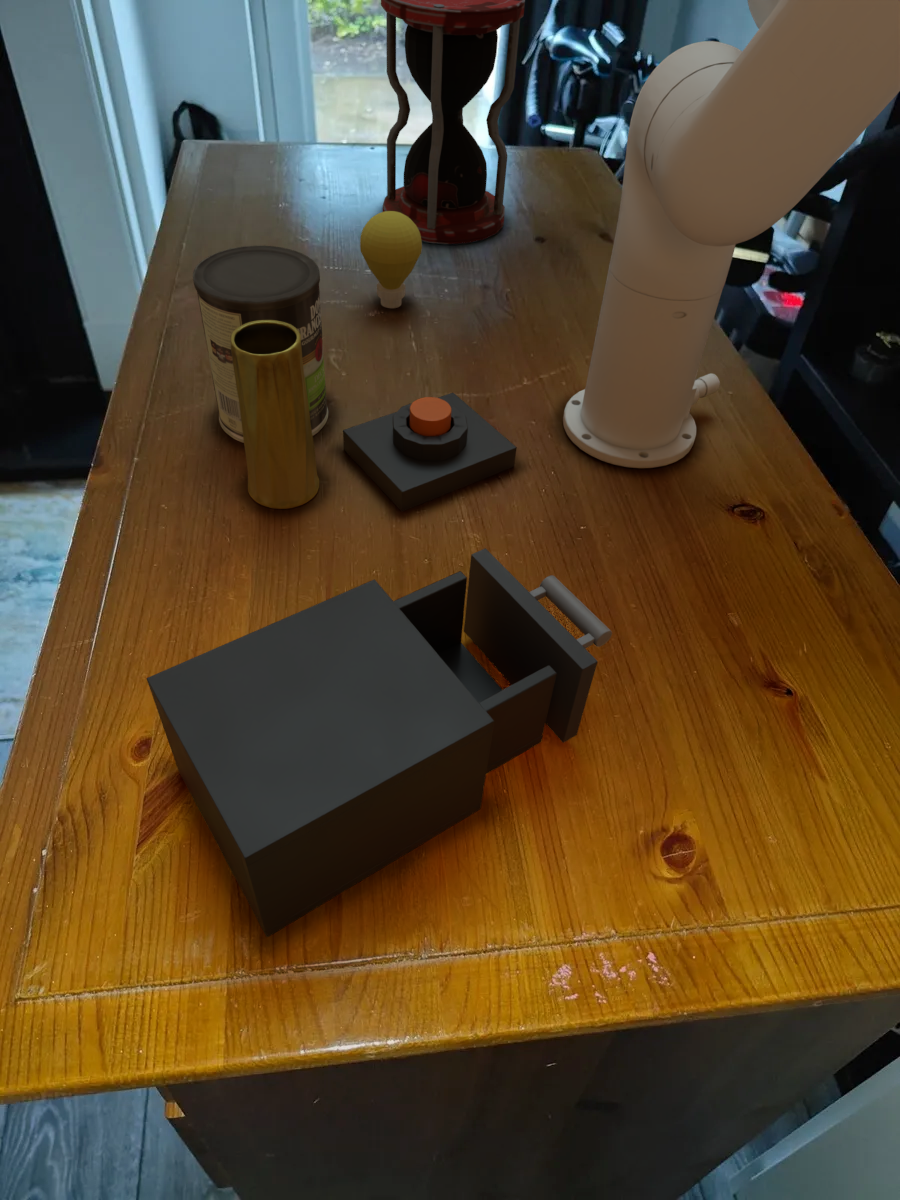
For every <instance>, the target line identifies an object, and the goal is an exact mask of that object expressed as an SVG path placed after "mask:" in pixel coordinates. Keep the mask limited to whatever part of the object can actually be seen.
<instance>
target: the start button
mask: <svg viewBox="0 0 900 1200" xmlns="http://www.w3.org/2000/svg"><path fill="white" fill-rule="evenodd" d="M411 403H412V404H411ZM411 403H410V404H411V406H410V428H411V430H412V431H413V432H414V433H417V434H420V435H423V436H439V435H442V434H445V433H447V432H448V431H449V429H450V426H451V407H450V405H449V404H448V403H447V402H446V401H444V400H442V399H439V398H438V397H434V396H425V397H421V398H417V399H416V400H414V401H413V402H411Z"/></svg>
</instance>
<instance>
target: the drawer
mask: <svg viewBox="0 0 900 1200" xmlns="http://www.w3.org/2000/svg"><path fill="white" fill-rule="evenodd" d="M467 581H468V582H467ZM466 593H467V595H466ZM545 597H546V598H547V599H548V600H549V601H550V602H551V604H553V605H554V606H555V607H556V608H557V610H559V611H560V612H561V613H562V614H563V615H564V616H565V617H566V618H567V619H568V620H569V621H570V622H571V623H572V624H573V625H574V626H575V627H576V628H577V629H578V630H579V631H580V632H581V633H582V634H583V636H580V637H579V638H575V636H573V634H572V633H571V632H570V631H569V630H567V629H566V628H565V627H564V625H563V624H562V623H560V622H559V620H558V619H557V618H555V616H553V614H552V613H551V612H550V611H548V609H546V608H545V606H544V605H542V603H541V602H540V600H542V599H543V598H545ZM393 602H394V603H395V604H396V605H397V606H398V607H399V609H400V610H401V611H402V612H403V613H404V615H405V616H406V617H407V618H408V619H409V621H410V622H411V623H412V624H413V625H414V626H415V628H416V629H417V630H418V631H419V632H420V634H421V635H422V636H423V637H424V638H425V639H426V641H427V642H428V643H429V644H430V645H431V647H432V648H433V649H434V650H435V651H436V652H437V654H438V655H439V656H440V657H441V658H442V660H443V661H444V662H445V663H446V664H447V666H448V667H449V668H450V669H451V670H452V671H453V673H454V674H455V675H456V676H457V677H458V679H459V680H460V681H461V682H462V683H463V684H464V686H465V687H466V688H467V689H468V690H469V692H470V693H471V694H472V695H473V696H474V698H475V699H476V700H477V701H478V702H479V703H480V705H481V706H482V707H483V708H484V709H485V711H486V712H487V713H488V714H489V715H490V716H491V718H492V719H493V720H494V725H493V732H492V738H491V745H490V751H489V758H488V764H487V771H486V775H487V774H489V773H491V772H492V771H494V770H496V769H498V768H499V767H501V766H503V765H504V764H506V763H508V762H510V761H512V760H513V759H515V758H517V757H519V756H520V755H522V754H523V753H526V752H527V751H529V750H531V749H533V747H536V746H538V745H539V744H542V741H543V736H544V730H545V726H547V727H548V728H549V729H550V730H551V732H553V734H555V736H556V737H557V738H558V739H559V740H560V741H561V743H562V744H564V743H566V742H568V741H569V740H571V739H572V738H574V737H576V736H577V735H578V732H579V728H580V727H581V721H582V718H583V714H584V712H585V708H586V704H587V700H588V697H589V694H590V691H591V686H592V683H593V679H594V676H595V672H596V670H597V665H598V663H599V661H598V660H597V658H595V656H593V655H592V653H590V652H589V651H588V650H587V649H588V648H589V647H591V646H593V645H594V646H595V647H598V648H600V647H603V646H604V645H605V644H607V643H608V642H609V640H611V638H612V636H613V631H612V630H611V628H609V627H608V626H607V625H606V624H605V623H604V622H603V621H602V620H601V619H599V618H598V617H597V615H595V613H593V612H592V611H591V610H590V609H589V608H588V607H587V606H586V605H585V604H584V603H583V602H582V601H581V600H580V599H579V598H578V596H576V595H575V594H573V592H572V591H570V590H569V589H568V588H567V586H565V585H564V584H563V583H562V582H561V581H560V580H559V578H557V577H556V576H555V575H553V574H552V575H548V576H546V577H545V578H543V579H542V581H541V582H540V584H539V586H538V587H537V588H535V589H532V590H530V591H529V590H528V589H527V588H526V587H525V586H524V585H523V584H522V583H521V582H520V581H519V580H518V579H517V578H516V577H515V576H514V575H513V574H512V573H511V572H510V571H509V570H508V569H507V568H506V567H505V565H503V564H502V563H501V562H500V561H499V560H498V559H497V558H496V557H495V556H494V555H493V554H492V553H491V552H490V551H489V549H488V548H483V549H480V550H478V551H476V552H473V553H471V555H470V563H469V573H468V578H467V576H466V575H465V573H463V572H462V571H461V570H459V571H457V572H455V573H453V574H449V575H448V576H446V577H444V578H442V579H439V580H437V581H435V582H433V583H429V584H428V585H426V586H424V587H421V588H419V589H417V590H415V591H413V592H410V593H408V594H406V595H403V596H401V597H399V598H397V599H395V600H393ZM465 602H466V603H465ZM464 613H465V615H464ZM464 616H465V617H464ZM463 625H464V627H463ZM463 633H465V635H466V636H467V637H468V638H469V639H470V640H471V642H473V644H474V645H475V646H476V647H477V648H478V649H479V650H480V651H481V652H482V654H483V655H484V656H485V657H486V658H487V660H488V661H489V662H490V663H491V664H492V665H493V666H494V667H495V668H496V669H497V671H498V672H499V673H500V674H501V675H502V676H503V677H504V678H505V680H507V682H508V683H509V684H510V685H509V686H506V687H505V688H502V687H501V686H500V684H498V682H496V680H495V679H494V678H493V677H492V676H491V675H490V674H489V672H488V671H487V669H485V667H483V665H482V664H481V663H480V662H479V661H478V659H476V658H475V656H474V655H473V654H472V653H471V652H470V651H469V649H467V647H466V646H465V645H464V644H463V643H462V635H463Z"/></svg>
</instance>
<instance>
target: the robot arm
mask: <svg viewBox="0 0 900 1200" xmlns="http://www.w3.org/2000/svg"><path fill="white" fill-rule="evenodd" d="M747 5H748V10H749V13H750V15H751V17H752V19H753V21H754V24H755V26H756V27H757V29H758V30H757V31H756V33H755V34H754V35H753V36H752V38H751V40H750V41H749V42H748V43H747V45H746V46H745V47H744V49H743V50H741V49H739V48H738V47H736V46H734V45H731V44H728V43H725V42H721V41H715V40H704V41H697V42H693V43H690V44H687V45H684V46H682V47H680V48H678V49H676V50H675V51H673V52H672V53H670V54H668V55H667V56H666V57H665V58H664V59H663V60H661V62H659V64H658V65H656V67H655V68H654V69H652V71H651V73H650V74H649V75H648V77H647V79H646V80H645V82H644V84H643V85H642V87H641V89H640V90H639V91H640V92H639V94H638V96H637V98H636V101H635V103H634V106H633V110H632V114H631V118H630V122H629V128H628V133H627V141H626V150H625V159H624V167H623V168H624V169H623V179H622V189H621V196H620V197H621V198H620V203H619V209H618V216H617V223H616V228H615V235H614V239H613V243H612V244H613V245H612V251H611V256H610V260H609V263H608V269H607V275H606V280H605V281H606V282H605V286H604V291H603V295H602V301H601V306H600V311H599V317H598V322H597V326H596V332H595V337H594V342H593V347H592V352H591V357H590V362H589V368H588V373H587V378H586V383H585V388H584V389H582V390H580V391H578V392H576V393H575V394H574V395H571V398H569V399H568V401H567V402H566V404H565V406H564V411H563V417H562V424H563V428H564V431H565V433H566V435H567V437H568V438H569V439H570V441H571V442H572V443H573V444H574V445H575V446H576V447H577V448H579V449H580V450H581V451H583V452H584V453H586V454H588V455H589V456H590V457H593V458H595V459H597V460H599V461H602V462H604V463H608V464H611V465H615V466H618V467H624V468H631V469H632V468H633V469H653V468H660V467H665V466H668V465H671V464H673V463H676V462H678V461H680V460H682V459H683V458H684V457H686V456H687V454H689V453H690V451H691V449H692V447H693V446H694V443H695V441H696V437H697V424H696V421H695V419H694V417H693V416H692V414H691V413H690V412H691V409H692V406H694V405H695V404H697V403H698V402H699V400H700V399H702V398H706V397H708V396H710V395H713V394H715V393H717V392H718V391H719V389H720V387H721V382H720V379H719V377H718V376H717V375H716V374H715V373H712V372H711V373H707V374H705V375H702V376H700V377H697V376H698V372H699V369H700V365H701V362H702V358H703V356H704V352H705V349H706V345H707V343H708V339H709V335H710V332H711V329H712V326H713V322H714V320H715V316H716V312H717V308H718V306H719V304H720V303H719V302H720V300H721V295H722V293H723V289H724V288H725V287H724V286H725V285H726V281H727V277H728V274H729V271H730V267H731V264H732V261H733V257H734V253H735V249H736V245H737V244H741V243H744V242H746V241H749V240H752V239H753V238H755V237H757V236H759V235H760V234H762V233H764V232H765V231H767V230H769V229H770V228H771V227H772V226H774V225H775V224H776V223H778V222H779V221H780V220H782V218H784V217H785V216H786V215H787V214H788V213H789V212H790V211H791V210H793V208H794V207H795V206H796V205H797V204H798V203H799V202H801V200H802V199H803V198H804V197H805V196H806V195H807V194H808V193H809V192H810V190H811V189H812V188H813V187H815V185H816V184H817V183H818V182H819V181H820V180H821V178H823V177H824V176H825V174H826V173H827V172H828V171H829V170H830V169H831V168H832V167H833V166H834V165H835V164H836V162H837V161H838V160H839V159H840V158H841V157H842V156H843V154H845V153H846V152H847V150H848V149H849V148H850V147H851V146H852V145H853V144H854V142H855V141H856V140H857V139H858V138H859V137H860V136H861V135H862V134H863V133H864V132H865V130H866V129H867V128H868V127H869V126H870V125H871V124H872V123H873V122H874V121H875V119H877V117H878V116H879V115H880V114H881V113H882V111H884V110H885V108H886V107H887V106H888V105H889V104H890V103H891V102H892V101H893V100H894V98H895V97H897V95H898V94H899V93H900V0H747Z"/></svg>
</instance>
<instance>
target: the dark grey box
mask: <svg viewBox="0 0 900 1200" xmlns="http://www.w3.org/2000/svg"><path fill="white" fill-rule="evenodd" d="M393 601H394V600H393V599H392V598H391V597H390V596H389V594H388V593H387V592H386V591H385V589H383V587H382V586H381V585H380V583H379V582H378V581H377V580H376V579H371V580H370V581H367V582H365V583H362V584H360V585H357V586H356V587H353V588H350V589H349V590H346V591H344V592H341V593H340V594H337V595H335V596H332V597H331V598H328V599H325V600H324V601H321V602H319V603H317V604H313V605H312V606H310V607H307V608H305V609H303V610H300V611H298V612H296V613H293V614H291V615H288V616H286V617H284V618H282V619H279V620H277V621H275V622H273V623H270V624H268V625H266V626H264V627H261V628H259V629H256V630H254V631H251V632H249V633H247V634H245V635H242V636H240V637H238V638H236V639H234V640H231V641H229V642H227V643H224V644H222V645H219V646H217V647H215V648H213V649H211V650H208V651H206V652H203V653H201V654H199V655H197V656H196V655H195V656H193V657H192V658H190V659H187V660H185V661H183V662H181V663H178V664H176V665H173V666H171V667H168V668H166V669H164V670H162V671H160V672H158V673H155V674H153V675H150V676H148V677H146V681H147V684H148V687H149V691H150V693H151V696H152V699H153V701H154V705H155V707H156V710H157V713H158V716H159V719H160V722H161V725H162V727H163V731H164V733H165V736H166V739H167V742H168V745H169V748H170V750H171V754H172V756H173V759H174V762H175V765H176V767H177V770H178V773H179V775H180V777H181V779H182V781H183V782H184V784H185V786H186V788H187V790H188V792H189V793H190V795H191V797H192V799H193V801H194V803H195V805H196V807H197V809H198V811H199V812H200V814H201V817H202V818H203V820H204V822H205V824H206V826H207V828H208V830H209V831H210V833H211V835H212V837H213V839H214V841H215V843H216V845H217V846H218V849H219V850H220V852H221V854H222V856H223V858H224V860H225V861H226V864H227V865H228V868H229V869H230V871H231V873H232V875H233V877H234V879H235V881H236V882H237V884H238V887H239V888H240V890H241V892H242V894H243V896H244V897H245V899H246V901H247V903H248V905H249V907H250V909H251V911H252V913H253V914H254V916H255V918H256V920H257V922H258V924H259V926H260V928H261V929H262V931H263V933H264V935H265V937H266V938H269V937H270V936H273V935H274V934H275V933H277V932H279V931H281V930H282V929H284V928H285V927H287V926H289V925H290V924H292V923H294V922H295V921H297V920H298V919H300V918H302V917H303V916H305V915H307V914H309V913H310V912H312V911H314V910H315V909H317V908H318V907H320V906H322V905H324V904H325V903H327V902H329V901H330V900H332V899H333V898H335V897H338V896H339V895H341V894H342V893H343V892H345V891H347V890H349V889H350V888H352V887H353V886H355V885H357V884H359V883H360V882H362V881H363V880H365V879H367V878H368V877H370V876H372V875H374V874H376V872H377V873H378V871H380V870H382V869H383V868H386V866H389V865H391V864H392V863H393V862H396V861H397V860H399V859H400V858H403V856H405V855H407V854H408V853H410V852H412V851H414V850H415V849H417V848H419V847H420V846H422V845H423V844H425V843H427V842H429V841H430V840H432V839H433V838H435V837H437V836H438V835H440V834H441V833H444V832H445V831H446V830H448V829H450V828H451V827H453V826H455V825H457V824H458V823H460V822H461V821H463V820H465V819H467V818H469V817H470V816H472V815H473V814H475V813H476V812H478V811H480V810H481V808H482V802H483V797H484V789H485V782H486V777H487V774H486V771H487V764H488V758H489V751H490V745H491V738H492V732H493V725H494V720H493V719H492V718H491V716H490V715H489V714H488V713H487V712H486V711H485V709H484V708H483V707H482V706H481V705H480V703H479V702H478V701H477V700H476V699H475V698H474V696H473V695H472V694H471V693H470V692H469V690H468V689H467V688H466V687H465V686H464V684H463V683H462V682H461V681H460V680H459V679H458V677H457V676H456V675H455V674H454V673H453V671H452V670H451V669H450V668H449V667H448V666H447V664H446V663H445V662H444V661H443V660H442V658H441V657H440V656H439V655H438V654H437V652H436V651H435V650H434V649H433V648H432V647H431V645H430V644H429V643H428V642H427V641H426V639H425V638H424V637H423V636H422V635H421V634H420V632H419V631H418V630H417V629H416V628H415V626H414V625H413V624H412V623H411V622H410V621H409V619H408V618H407V617H406V616H405V615H404V613H403V612H402V611H401V610H400V609H399V607H398V606H397V605H396V604H395V603H394V602H393Z"/></svg>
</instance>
